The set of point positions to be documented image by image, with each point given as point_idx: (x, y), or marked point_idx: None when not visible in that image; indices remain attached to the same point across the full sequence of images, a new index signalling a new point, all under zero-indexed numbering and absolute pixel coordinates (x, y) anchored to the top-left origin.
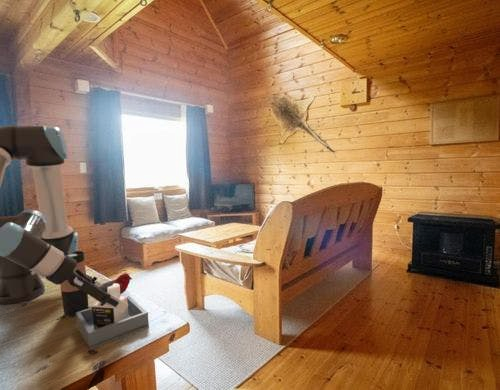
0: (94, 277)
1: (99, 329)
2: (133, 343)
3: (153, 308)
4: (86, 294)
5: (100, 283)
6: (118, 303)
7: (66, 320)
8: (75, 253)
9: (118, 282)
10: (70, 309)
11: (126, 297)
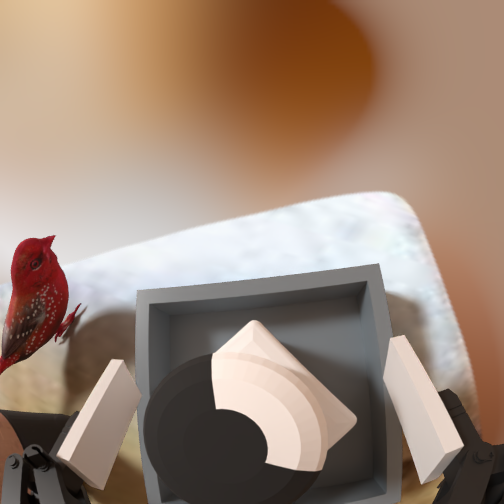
0: (28, 457)
1: (400, 468)
2: (436, 352)
3: (227, 233)
4: (38, 427)
5: (82, 439)
6: (445, 392)
7: (109, 492)
8: None
9: (33, 294)
10: None
11: (261, 324)
